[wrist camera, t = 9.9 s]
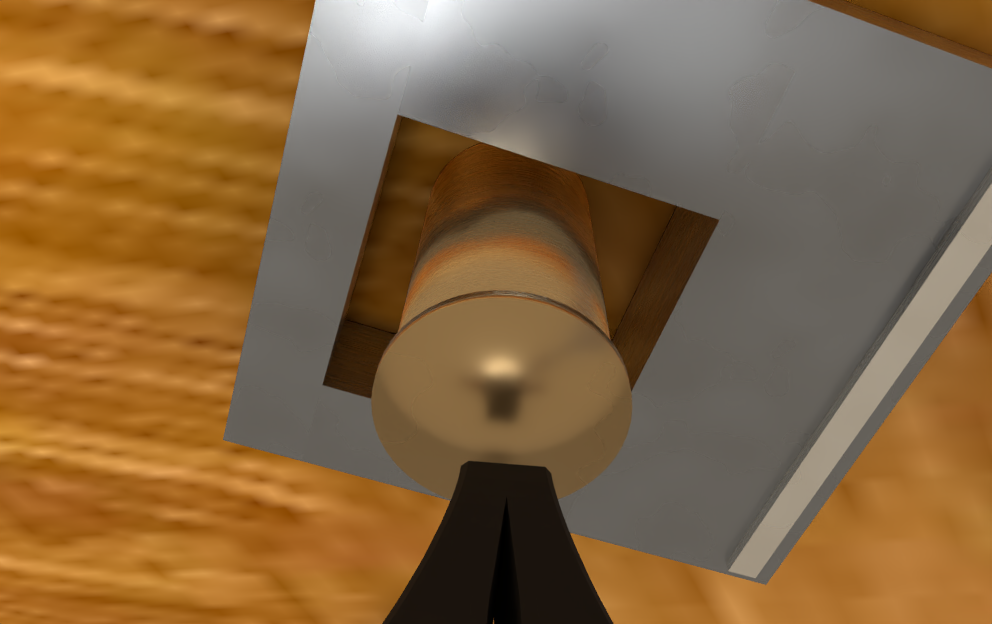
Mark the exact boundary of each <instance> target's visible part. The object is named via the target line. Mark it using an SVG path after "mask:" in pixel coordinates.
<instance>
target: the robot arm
mask: <svg viewBox="0 0 992 624" xmlns="http://www.w3.org/2000/svg"><path fill="white" fill-rule="evenodd" d="M493 619H494V624H613V622H612V620H611V618H610V617H609V615H608V613H607V611H606V609H605V607H604V605H603V603H602V602H601V600H600V598H599V596H598V594H597V592H596V590H595V588H594V586H593V584H592V582H591V580H590V578H589V576H588V573H587V571H586V569H585V567H584V564H583V562H582V560H581V558H580V556H579V553H578V551H577V549H576V547H575V544H574V542H573V539H572V537H571V535H570V532H569V529H568V527H567V524H566V521H565V519H564V516H563V513H562V510H561V507H560V504H559V501H558V498H557V495H556V491H555V488H554V484H553V480H552V474H551V472H550V471H549V470H548V469H547V468H546V467H543V466H530V465H517V464H504V463H491V462H479V461H467V462H466V463H464V464H463V465H461V468H460V473H459V477H458V481H457V484H456V487H455V490H454V493H453V496H452V498H451V501H450V503H449V506H448V508H447V510H446V513H445V515H444V517H443V520H442V522H441V524H440V526H439V528H438V530H437V532H436V534H435V536H434V538H433V540H432V542H431V544H430V546H429V548H428V550H427V552H426V554H425V556H424V557H423V559H422V561H421V563H420V565H419V566H418V568H417V570H416V571H415V573H414V575H413V576H412V578H411V580H410V581H409V583H408V585H407V586H406V588H405V590H404V591H403V593H402V595H401V596H400V598H399V599H398V601H397V603H396V604H395V606H394V607H393V609H392V610H391V612H390V613H389V615H388V616H387V618H386V619H385V621H384V622H383V623H382V624H493Z"/></svg>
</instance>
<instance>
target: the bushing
mask: <svg viewBox="0 0 992 624" xmlns="http://www.w3.org/2000/svg"><path fill="white" fill-rule="evenodd" d="M371 407H372V417H373V421H374V425H375V429H376V432H377V434H378V437H379V439H380V441H381V443H382V445H383V447H384V448H385V450H386V452H387V453H388V455H389V456H390V457H391V458H392V460H393V461H394V462H395V463H396V465H397V466H398V467H399V468H400V469H401V470H402V471H403V472H405V473H406V474H407V475H408V476H409V477H410V478H412V479H413V480H414V481H416V482H417V483H418V484H420V485H421V486H423V487H425V488H427V489H428V490H430V491H432V492H434V493H436V494H438V495H440V496H443V497H445V498H447V499H450V500H451V498H452V496H453V493H454V490H455V487H456V484H457V481H458V477H459V473H460V468H461V465H463V464H464V463H466V462H467V461H479V462H491V463H504V464H517V465H530V466H543V467H546V468H547V469H548V470H549V471H550V472H551V474H552V480H553V484H554V488H555V491H556V495H557V498H558V499H560V498H563V497H565V496H568V495H570V494H572V493H574V492H575V491H577V490H579V489H581V488H583V487H584V486H586V485H587V484H588V483H590V482H591V481H593V480H594V479H595V478H596V477H598V476H599V475H600V474H601V473H602V472H603V471H604V470H605V469H606V468H607V467H608V466H609V465H610V463H611V462H612V461H613V460H614V459H615V457H616V456H617V454H618V453H619V451H620V449H621V448H622V446H623V444H624V441H625V439H626V437H627V434H628V431H629V427H630V424H631V417H632V394H631V388H630V383H629V378H628V374H627V370H626V367H625V365H624V362H623V360H622V357H621V355H620V354H619V352H618V350H617V349H616V347H615V345H614V344H613V343H612V341H611V340H610V334H609V328H608V321H607V315H606V309H605V303H604V297H603V291H602V284H601V278H600V272H599V266H598V260H597V254H596V247H595V241H594V235H593V229H592V223H591V217H590V210H589V204H588V199H587V195H586V191H585V189H584V186H583V184H582V182H581V180H580V178H579V176H578V175H577V173H575V172H572V171H569V170H566V169H563V168H560V167H557V166H554V165H551V164H548V163H544V162H541V161H538V160H535V159H532V158H529V157H526V156H523V155H520V154H517V153H514V152H511V151H508V150H505V149H502V148H499V147H496V146H493V145H490V144H486V143H483V142H482V143H479V144H477V145H474V146H472V147H470V148H468V149H466V150H464V151H463V152H461V153H460V154H459V155H457V156H456V157H454V158H453V159H452V160H451V161H450V162H449V163H448V164H447V165H446V167H445V168H444V169H443V170H442V172H441V173H440V175H439V176H438V178H437V180H436V181H435V184H434V186H433V189H432V192H431V196H430V200H429V204H428V208H427V212H426V216H425V221H424V225H423V229H422V233H421V237H420V242H419V246H418V250H417V254H416V259H415V263H414V267H413V271H412V275H411V280H410V284H409V288H408V292H407V296H406V301H405V305H404V309H403V313H402V318H401V322H400V326H399V330H398V333H397V334H396V335H395V336H394V337H393V339H392V340H391V341H390V343H389V345H388V346H387V348H386V349H385V351H384V353H383V355H382V357H381V360H380V362H379V364H378V368H377V372H376V376H375V380H374V384H373V388H372V398H371Z"/></svg>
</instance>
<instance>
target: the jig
mask: <svg viewBox="0 0 992 624" xmlns="http://www.w3.org/2000/svg"><path fill="white" fill-rule="evenodd" d="M402 116H404V117H407V118H410V119H413V120H416V121H419V122H422V123H425V124H428V125H432V126H435V127H438V128H441V129H444V130H447V131H450V132H453V133H456V134H459V135H462V136H465V137H468V138H471V139H474V140H477V141H480V142H483V143H486V144H490V145H493V146H496V147H499V148H502V149H505V150H508V151H511V152H514V153H517V154H520V155H523V156H526V157H529V158H532V159H535V160H538V161H541V162H544V163H548V164H551V165H554V166H557V167H560V168H563V169H566V170H569V171H572V172H575V173H578V174H581V175H584V176H587V177H590V178H593V179H596V180H599V181H602V182H606V183H609V184H612V185H615V186H618V187H621V188H624V189H627V190H630V191H633V192H636V193H639V194H642V195H645V196H648V197H651V198H654V199H657V200H660V201H664V202H667V203H670V204H673V205H676V206H677V207H676V209H675V211H674V213H673V215H672V217H671V219H670V221H669V224H668V226H667V228H666V230H665V232H664V234H663V236H662V238H661V240H660V242H659V244H658V246H657V249H656V251H655V253H654V255H653V257H652V259H651V261H650V263H649V265H648V267H647V269H646V271H645V274H644V276H643V278H642V280H641V282H640V284H639V286H638V288H637V290H636V292H635V294H634V296H633V299H632V301H631V303H630V305H629V307H628V309H627V311H626V313H625V315H624V317H623V319H622V321H621V324H620V326H619V328H618V330H617V332H616V334H615V336H614V338H613V340H612V343H613V344H614V345H615V347H616V349H617V350H618V352H619V354H620V355H621V357H622V360H623V362H624V365H625V367H626V370H627V374H628V378H629V383H630V388H631V394H632V417H631V424H630V427H629V431H628V434H627V437H626V439H625V441H624V444H623V446H622V448H621V449H620V451H619V453H618V454H617V456H616V457H615V459H614V460H613V461H612V462H611V463H610V465H609V466H608V467H607V468H606V469H605V470H604V471H603V472H602V473H601V474H600V475H599V476H598V477H596V478H595V479H594V480H593V481H591V482H590V483H588V484H587V485H586V486H584V487H583V488H581V489H579V490H577V491H575V492H574V493H572V494H570V495H568V496H565V497H563V498H560V499H558V501H559V504H560V507H561V510H562V513H563V516H564V519H565V521H566V524H567V527H568V529H569V532H570V533H574V534H578V535H582V536H585V537H589V538H593V539H597V540H600V541H604V542H608V543H612V544H615V545H619V546H623V547H627V548H630V549H634V550H638V551H642V552H645V553H649V554H653V555H657V556H660V557H664V558H668V559H672V560H675V561H679V562H683V563H687V564H690V565H694V566H698V567H702V568H705V569H709V570H713V571H717V572H720V573H724V574H728V575H732V576H735V577H739V578H743V579H747V580H750V581H754V582H758V583H762V584H765V585H766V584H767V583H768V581H769V580H770V578H771V577H772V576H773V574H774V573H775V571H776V570H777V569H778V567H779V566H780V565H781V563H782V562H783V560H784V559H785V558H786V556H787V555H788V553H789V552H790V551H791V549H792V548H793V547H794V545H795V544H796V542H797V541H798V540H799V538H800V537H801V535H802V534H803V533H804V531H805V530H806V529H807V527H808V526H809V524H810V523H811V522H812V520H813V519H814V517H815V516H816V515H817V513H818V512H819V511H820V509H821V508H822V506H823V505H824V504H825V502H826V501H827V499H828V498H829V497H830V495H831V494H832V492H833V491H834V490H835V488H836V487H837V486H838V484H839V483H840V481H841V480H842V479H843V477H844V476H845V474H846V473H847V472H848V470H849V469H850V468H851V466H852V465H853V463H854V462H855V461H856V459H857V458H858V456H859V455H860V454H861V452H862V451H863V450H864V448H865V447H866V445H867V444H868V443H869V441H870V440H871V438H872V437H873V436H874V434H875V433H876V432H877V430H878V429H879V427H880V426H881V425H882V423H883V422H884V420H885V419H886V418H887V416H888V415H889V413H890V412H891V411H892V409H893V408H894V407H895V405H896V404H897V402H898V401H899V400H900V398H901V397H902V395H903V394H904V393H905V391H906V390H907V389H908V387H909V386H910V384H911V383H912V382H913V380H914V379H915V377H916V376H917V375H918V373H919V372H920V371H921V369H922V368H923V366H924V365H925V364H926V362H927V361H928V359H929V358H930V357H931V355H932V354H933V353H934V351H935V350H936V348H937V347H938V346H939V344H940V343H941V341H942V340H943V339H944V337H945V336H946V334H947V333H948V332H949V330H950V329H951V328H952V326H953V325H954V323H955V322H956V321H957V319H958V318H959V316H960V315H961V314H962V312H963V311H964V310H965V308H966V307H967V305H968V304H969V303H970V301H971V300H972V298H973V297H974V296H975V294H976V293H977V292H978V290H979V289H980V287H981V286H982V285H983V283H984V282H985V280H986V279H987V278H988V276H989V275H990V274H991V272H992V56H991V55H988V54H986V53H983V52H980V51H978V50H975V49H972V48H969V47H967V46H964V45H961V44H959V43H956V42H953V41H951V40H948V39H945V38H943V37H940V36H937V35H935V34H932V33H929V32H927V31H924V30H921V29H919V28H916V27H913V26H911V25H908V24H905V23H903V22H900V21H897V20H895V19H892V18H889V17H886V16H884V15H881V14H878V13H876V12H873V11H870V10H868V9H865V8H862V7H860V6H857V5H854V4H852V3H849V2H846V1H844V0H316V2H315V6H314V11H313V16H312V21H311V25H310V30H309V35H308V40H307V44H306V49H305V54H304V59H303V63H302V68H301V73H300V78H299V82H298V87H297V92H296V96H295V101H294V106H293V111H292V115H291V120H290V125H289V130H288V134H287V139H286V144H285V149H284V153H283V158H282V163H281V168H280V172H279V177H278V182H277V187H276V191H275V196H274V201H273V206H272V210H271V215H270V220H269V225H268V229H267V234H266V239H265V244H264V248H263V253H262V258H261V263H260V267H259V272H258V277H257V282H256V286H255V291H254V296H253V301H252V305H251V310H250V315H249V320H248V324H247V329H246V334H245V339H244V343H243V348H242V353H241V357H240V362H239V367H238V372H237V376H236V381H235V386H234V391H233V395H232V400H231V405H230V410H229V414H228V419H227V424H226V429H225V433H224V438H223V440H225V441H229V442H233V443H236V444H240V445H244V446H248V447H251V448H255V449H259V450H263V451H266V452H270V453H274V454H278V455H281V456H285V457H289V458H293V459H296V460H300V461H304V462H308V463H311V464H315V465H319V466H323V467H326V468H330V469H334V470H338V471H341V472H345V473H349V474H353V475H356V476H360V477H364V478H368V479H371V480H375V481H379V482H383V483H386V484H390V485H394V486H398V487H401V488H405V489H409V490H413V491H416V492H420V493H424V494H428V495H431V496H435V497H439V498H443V499H447V498H445V497H443V496H440V495H438V494H436V493H434V492H432V491H430V490H428V489H427V488H425V487H423V486H421V485H420V484H418V483H417V482H416V481H414V480H413V479H412V478H410V477H409V476H408V475H407V474H406V473H405V472H403V471H402V470H401V469H400V468H399V467H398V466H397V465H396V463H395V462H394V461H393V460H392V458H391V457H390V456H389V455H388V453H387V452H386V450H385V448H384V447H383V445H382V443H381V441H380V439H379V437H378V434H377V432H376V429H375V425H374V421H373V417H372V407H371V398H372V388H373V384H374V380H375V376H376V372H377V368H378V364H379V362H380V360H381V357H382V355H383V353H384V351H385V349H386V348H387V346H388V345H389V343H390V341H391V340H392V339H393V337H394V336H395V335H396V334H392V333H389V332H385V331H382V330H378V329H375V328H372V327H368V326H365V325H361V324H358V323H354V322H351V321H348V320H345V319H346V316H347V312H348V309H349V305H350V301H351V298H352V294H353V291H354V287H355V284H356V280H357V276H358V273H359V269H360V266H361V262H362V259H363V255H364V252H365V248H366V244H367V241H368V237H369V234H370V230H371V227H372V223H373V219H374V216H375V212H376V209H377V205H378V202H379V198H380V195H381V191H382V187H383V184H384V180H385V177H386V173H387V170H388V166H389V162H390V159H391V155H392V152H393V148H394V145H395V141H396V137H397V134H398V130H399V127H400V123H401V120H402ZM447 500H450V499H447ZM450 501H451V500H450Z"/></svg>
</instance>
